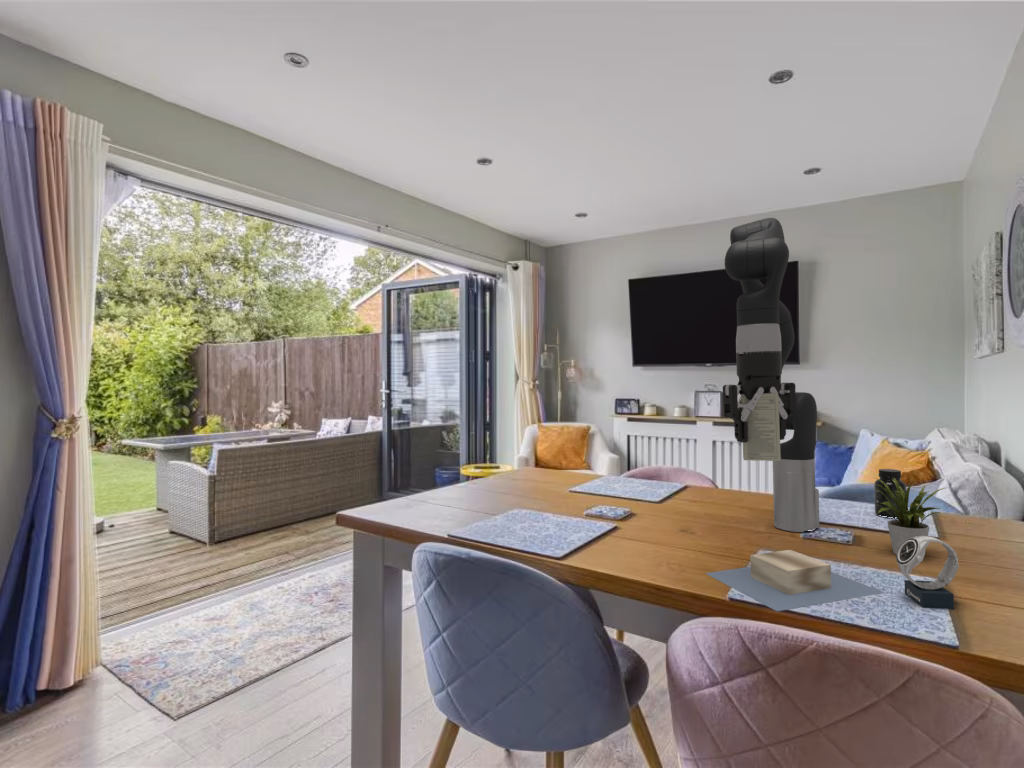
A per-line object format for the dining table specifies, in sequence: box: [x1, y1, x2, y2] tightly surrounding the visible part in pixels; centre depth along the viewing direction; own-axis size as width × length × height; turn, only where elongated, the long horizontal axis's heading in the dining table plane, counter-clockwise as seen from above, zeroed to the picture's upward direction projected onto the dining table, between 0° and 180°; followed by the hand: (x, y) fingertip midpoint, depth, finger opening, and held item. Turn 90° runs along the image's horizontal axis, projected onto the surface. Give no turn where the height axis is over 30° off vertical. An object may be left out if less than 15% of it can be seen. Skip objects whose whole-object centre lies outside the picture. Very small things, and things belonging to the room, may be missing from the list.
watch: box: [895, 535, 960, 610], centre depth 88 cm, size 6×8×11 cm
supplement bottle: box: [873, 468, 907, 517], centre depth 144 cm, size 7×7×12 cm
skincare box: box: [740, 393, 781, 462], centre depth 100 cm, size 6×4×12 cm
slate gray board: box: [705, 566, 885, 612], centre depth 98 cm, size 22×18×1 cm
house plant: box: [869, 477, 950, 555], centre depth 114 cm, size 14×14×16 cm
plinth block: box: [749, 549, 832, 595], centre depth 98 cm, size 9×9×4 cm
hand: (760, 440), depth 100 cm, fingers closed on skincare box, 7 cm apart
